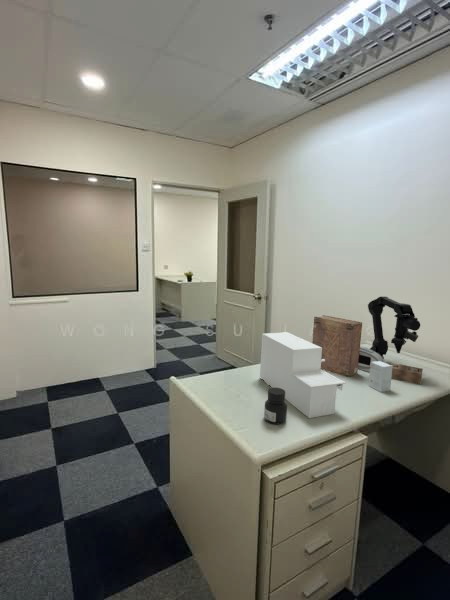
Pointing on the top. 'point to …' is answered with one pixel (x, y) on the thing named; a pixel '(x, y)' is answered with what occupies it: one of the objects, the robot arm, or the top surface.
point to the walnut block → (406, 373)
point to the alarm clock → (367, 358)
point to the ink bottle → (275, 406)
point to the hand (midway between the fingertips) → (398, 353)
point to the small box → (380, 376)
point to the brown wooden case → (338, 343)
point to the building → (298, 373)
